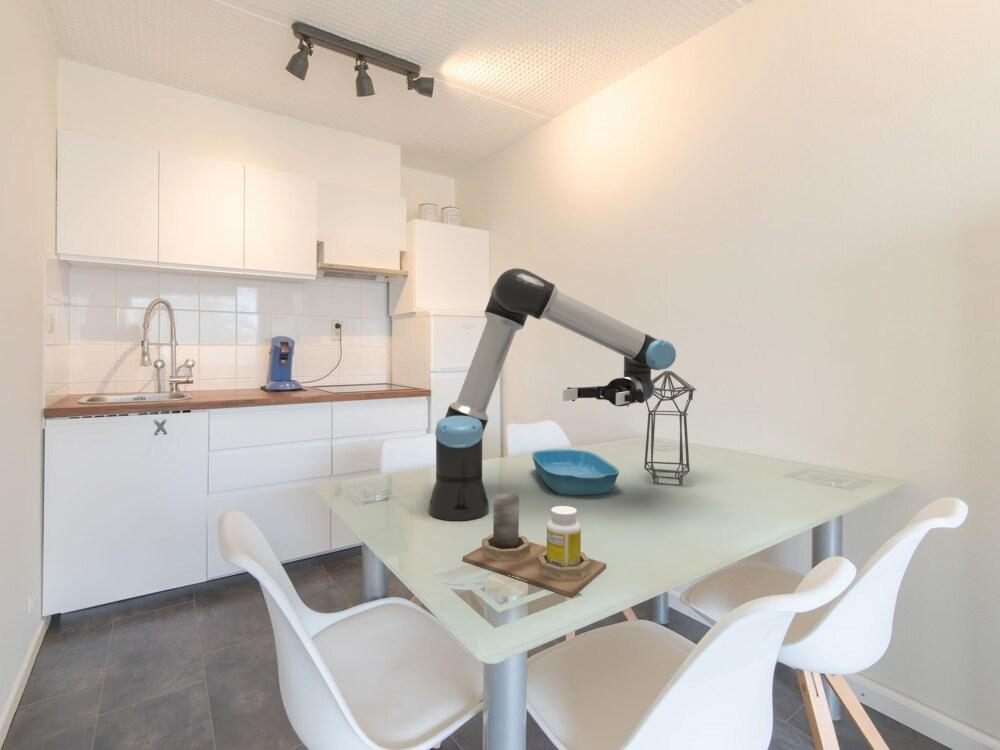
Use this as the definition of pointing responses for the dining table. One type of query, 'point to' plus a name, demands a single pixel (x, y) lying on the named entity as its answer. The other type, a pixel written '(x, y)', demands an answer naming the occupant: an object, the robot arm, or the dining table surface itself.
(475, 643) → the dining table surface
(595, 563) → the socket board
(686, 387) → the geometric lantern
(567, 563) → the pill bottle
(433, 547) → the dining table surface
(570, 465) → the casserole dish
